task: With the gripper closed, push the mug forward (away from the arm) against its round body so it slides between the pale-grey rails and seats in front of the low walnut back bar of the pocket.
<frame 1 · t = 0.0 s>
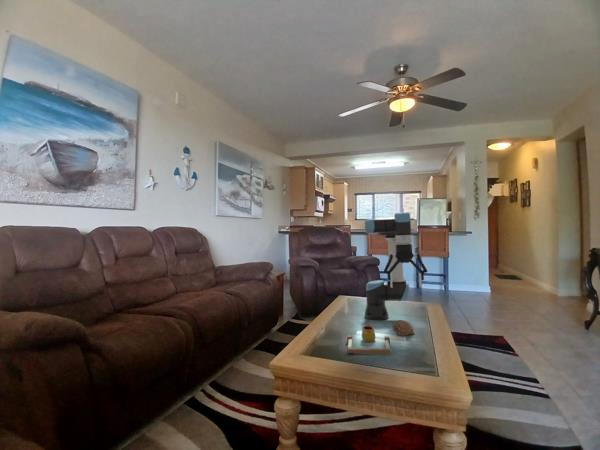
hand: (405, 287, 148), 28 cm above the table, fingers open, 13 cm apart
seashell: (404, 334, 163), on the table
mug: (368, 339, 158), on the table
pocket: (368, 347, 145), on the table
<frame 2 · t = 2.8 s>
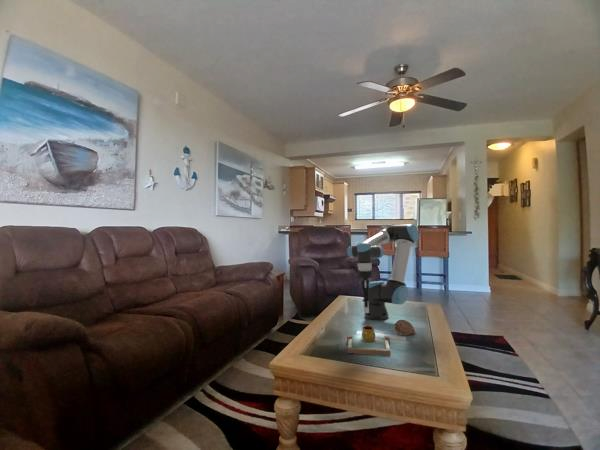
hand: (366, 312, 169), 11 cm above the table, fingers closed
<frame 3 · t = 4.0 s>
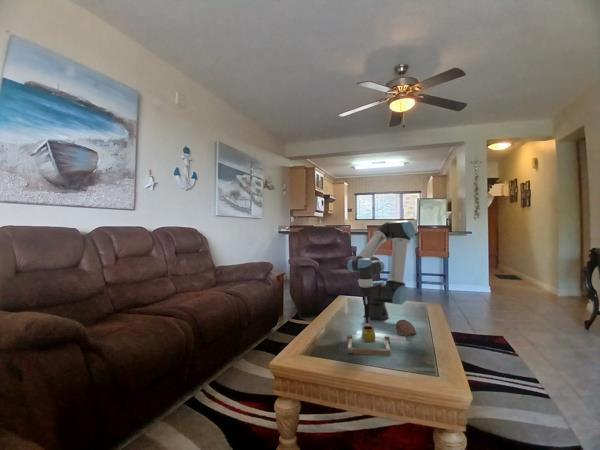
hand: (367, 328, 168), 2 cm above the table, fingers closed
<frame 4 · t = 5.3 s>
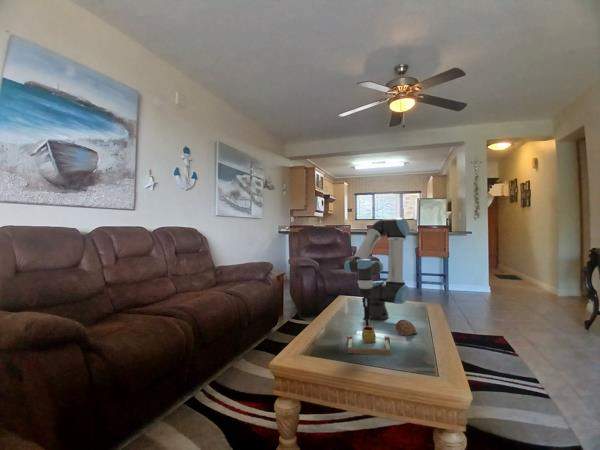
hand: (367, 331, 163), 2 cm above the table, fingers closed
mug: (368, 339, 156), on the table, touching gripper
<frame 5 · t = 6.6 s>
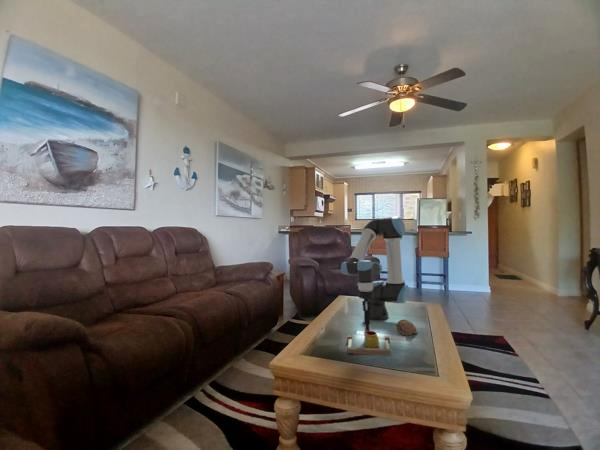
hand: (367, 336, 156), 2 cm above the table, fingers closed
mug: (370, 344, 149), on the table, touching gripper
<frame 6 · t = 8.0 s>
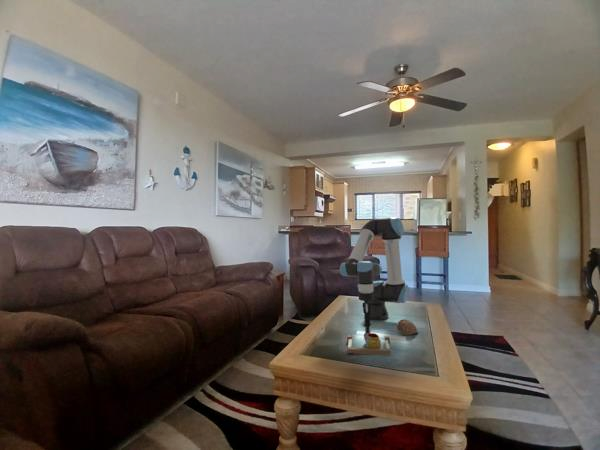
hand: (368, 338, 152), 2 cm above the table, fingers closed
mug: (371, 347, 146), on the table
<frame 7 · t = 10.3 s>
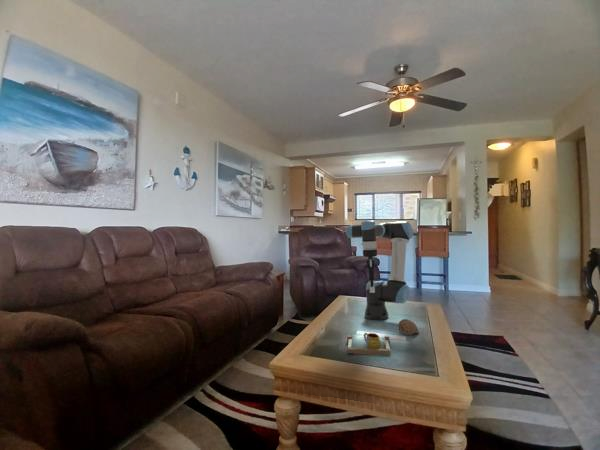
hand: (372, 292, 164), 23 cm above the table, fingers closed
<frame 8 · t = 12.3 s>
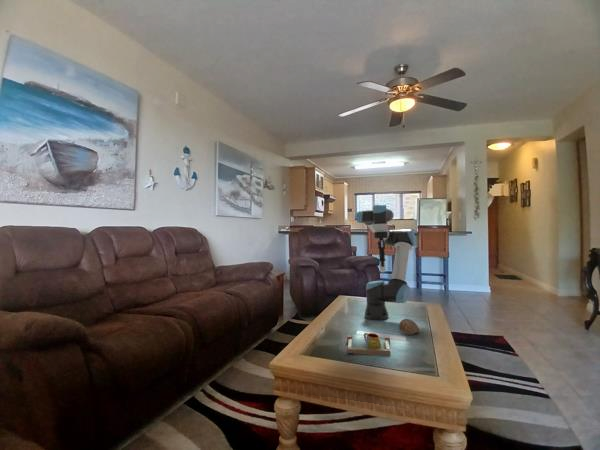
hand: (382, 272, 173), 32 cm above the table, fingers closed
at the end: mug inside the target area on the pocket (1.3 cm from its centre), point 0.0 cm above the pocket's base; mug tilted 0° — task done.
